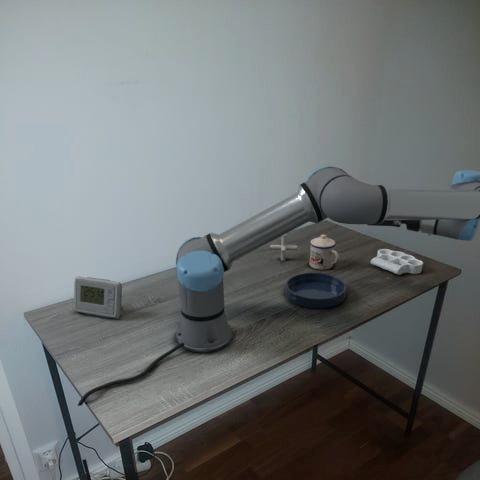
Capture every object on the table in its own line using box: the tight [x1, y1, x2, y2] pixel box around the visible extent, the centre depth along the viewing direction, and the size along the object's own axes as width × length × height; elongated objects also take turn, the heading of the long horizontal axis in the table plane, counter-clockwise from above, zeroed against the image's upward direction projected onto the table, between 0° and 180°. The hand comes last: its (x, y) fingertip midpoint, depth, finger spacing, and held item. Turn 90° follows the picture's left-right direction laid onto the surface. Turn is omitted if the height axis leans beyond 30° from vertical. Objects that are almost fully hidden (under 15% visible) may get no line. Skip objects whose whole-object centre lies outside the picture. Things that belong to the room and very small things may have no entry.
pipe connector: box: [269, 233, 298, 262], centre depth 168 cm, size 10×10×10 cm
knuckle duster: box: [370, 248, 424, 276], centre depth 164 cm, size 3×18×15 cm
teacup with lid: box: [309, 234, 340, 271], centre depth 162 cm, size 12×9×12 cm
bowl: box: [284, 272, 347, 309], centre depth 145 cm, size 19×19×3 cm
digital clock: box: [73, 275, 123, 319], centre depth 135 cm, size 16×9×11 cm, turn 60°
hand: (356, 209), depth 149 cm, fingers open, 13 cm apart
